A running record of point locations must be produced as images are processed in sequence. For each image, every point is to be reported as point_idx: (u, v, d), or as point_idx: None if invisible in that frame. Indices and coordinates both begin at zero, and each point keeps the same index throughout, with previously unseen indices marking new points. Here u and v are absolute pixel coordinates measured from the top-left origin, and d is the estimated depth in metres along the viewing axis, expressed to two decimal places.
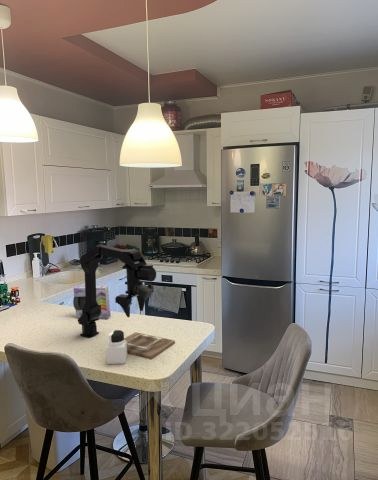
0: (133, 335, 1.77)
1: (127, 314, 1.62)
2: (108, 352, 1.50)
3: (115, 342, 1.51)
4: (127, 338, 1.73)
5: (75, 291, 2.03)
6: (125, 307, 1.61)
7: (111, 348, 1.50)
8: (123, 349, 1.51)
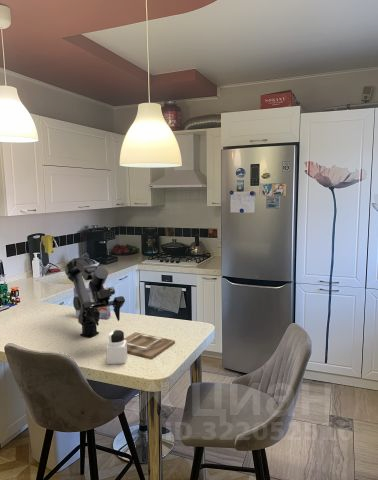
0: (133, 335, 1.77)
1: (95, 322, 1.57)
2: (108, 352, 1.50)
3: (115, 342, 1.51)
4: (127, 338, 1.73)
5: (75, 291, 2.03)
6: (92, 316, 1.59)
7: (111, 348, 1.50)
8: (123, 349, 1.51)
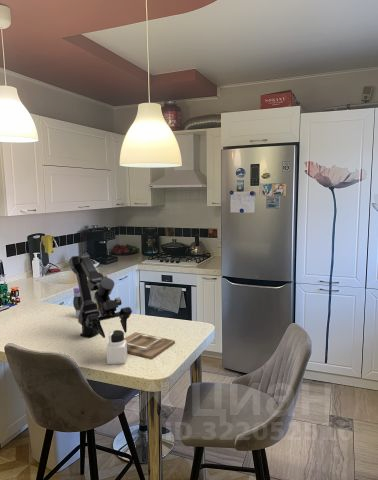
0: (133, 335, 1.77)
1: (102, 334, 1.52)
2: (108, 352, 1.50)
3: (115, 342, 1.51)
4: (127, 338, 1.73)
5: (75, 291, 2.03)
6: (98, 328, 1.53)
7: (111, 348, 1.50)
8: (123, 349, 1.51)
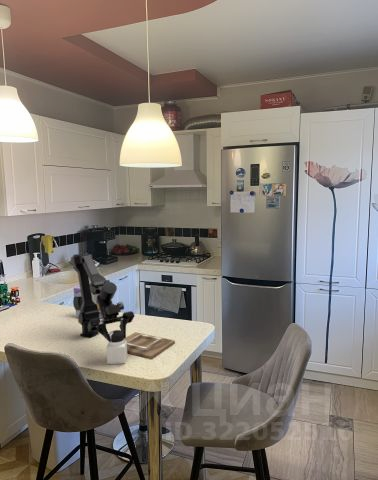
0: (133, 335, 1.77)
1: (107, 338, 1.51)
2: (108, 352, 1.50)
3: (115, 342, 1.51)
4: (127, 338, 1.73)
5: (75, 291, 2.03)
6: (103, 332, 1.52)
7: (111, 348, 1.50)
8: (123, 349, 1.51)
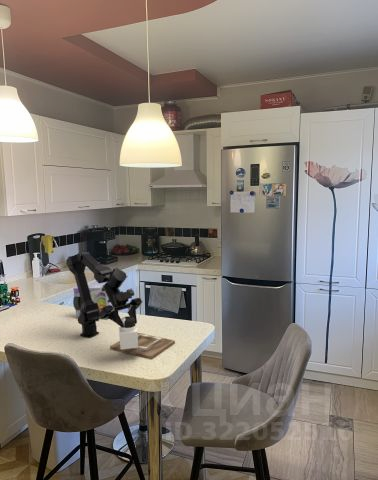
0: None
1: (120, 324, 1.55)
2: (122, 338, 1.54)
3: (128, 327, 1.55)
4: None
5: (75, 291, 2.03)
6: (115, 318, 1.56)
7: (125, 333, 1.54)
8: (136, 334, 1.55)
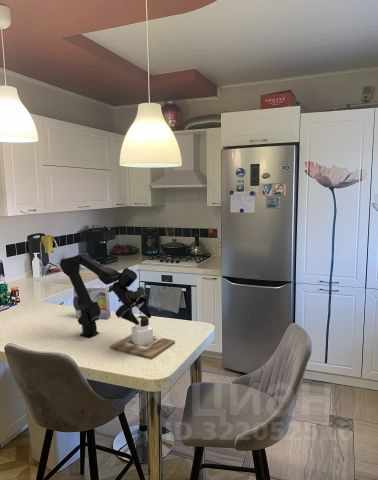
0: None
1: (135, 322, 1.61)
2: (139, 336, 1.63)
3: (144, 326, 1.64)
4: (127, 338, 1.73)
5: (75, 291, 2.03)
6: (129, 317, 1.62)
7: (142, 332, 1.63)
8: (152, 331, 1.66)
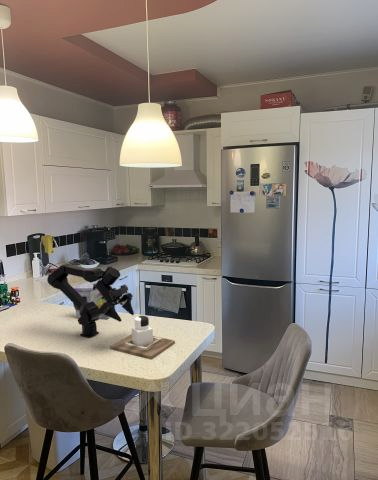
0: None
1: (118, 319, 1.66)
2: (139, 336, 1.63)
3: (144, 326, 1.64)
4: (127, 338, 1.73)
5: None
6: (112, 314, 1.66)
7: (142, 332, 1.63)
8: (152, 331, 1.66)
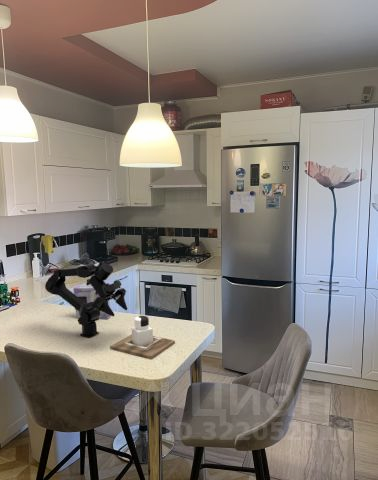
0: None
1: (111, 313, 1.67)
2: (139, 336, 1.63)
3: (144, 326, 1.64)
4: (127, 338, 1.73)
5: (75, 291, 2.03)
6: (105, 309, 1.68)
7: (142, 332, 1.63)
8: (152, 331, 1.66)
